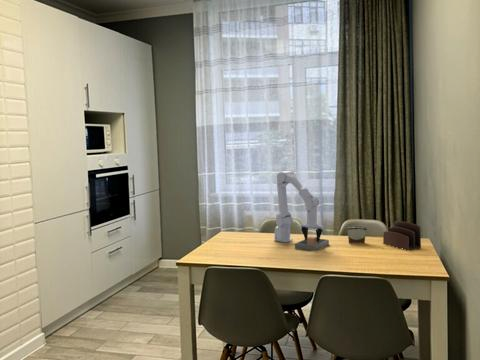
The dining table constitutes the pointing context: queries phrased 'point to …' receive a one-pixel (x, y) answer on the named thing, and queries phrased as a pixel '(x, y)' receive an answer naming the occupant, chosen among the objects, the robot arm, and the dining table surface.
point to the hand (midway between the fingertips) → (312, 240)
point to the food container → (356, 234)
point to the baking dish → (304, 246)
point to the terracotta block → (312, 240)
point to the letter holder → (403, 236)
